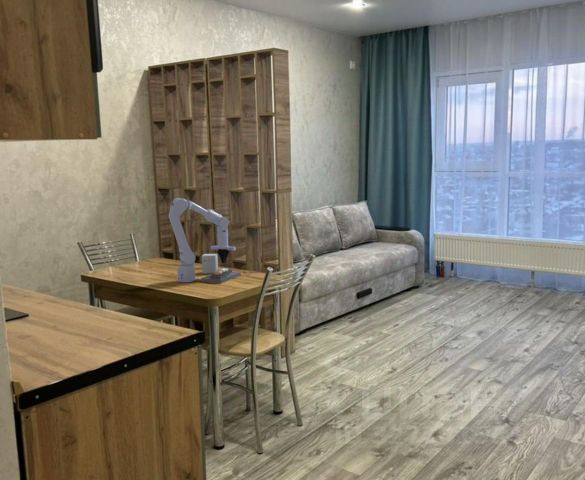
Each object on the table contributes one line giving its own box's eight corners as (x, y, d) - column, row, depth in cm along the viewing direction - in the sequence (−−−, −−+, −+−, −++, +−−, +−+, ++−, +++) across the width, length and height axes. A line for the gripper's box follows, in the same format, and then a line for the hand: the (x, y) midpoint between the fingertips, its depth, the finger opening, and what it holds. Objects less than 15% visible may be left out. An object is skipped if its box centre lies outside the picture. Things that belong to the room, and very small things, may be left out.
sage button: (225, 273, 311) (225, 269, 310) (218, 272, 312) (218, 269, 312) (229, 271, 315) (229, 268, 314) (222, 271, 316) (222, 268, 316)
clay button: (219, 275, 297) (219, 272, 297) (212, 275, 299) (212, 271, 298) (223, 274, 301) (223, 270, 301) (216, 273, 303) (216, 270, 302)
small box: (218, 271, 327) (217, 253, 326) (216, 273, 322) (215, 255, 320) (204, 271, 328) (204, 253, 327) (202, 273, 322) (201, 255, 321)
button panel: (221, 283, 295) (220, 277, 295) (201, 281, 300) (200, 275, 299) (240, 275, 314) (240, 269, 314) (221, 274, 319) (221, 268, 318)
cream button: (222, 273, 304) (222, 269, 303) (215, 272, 305) (215, 269, 305) (226, 271, 308) (226, 268, 307) (219, 271, 309) (219, 267, 309)
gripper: (238, 237, 311) (238, 262, 313) (215, 237, 317) (216, 261, 319) (231, 239, 305) (232, 264, 307) (208, 238, 311) (209, 263, 313)
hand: (223, 263), depth 313 cm, fingers closed
